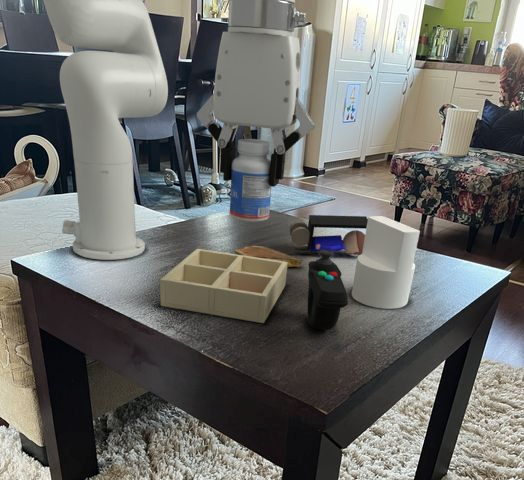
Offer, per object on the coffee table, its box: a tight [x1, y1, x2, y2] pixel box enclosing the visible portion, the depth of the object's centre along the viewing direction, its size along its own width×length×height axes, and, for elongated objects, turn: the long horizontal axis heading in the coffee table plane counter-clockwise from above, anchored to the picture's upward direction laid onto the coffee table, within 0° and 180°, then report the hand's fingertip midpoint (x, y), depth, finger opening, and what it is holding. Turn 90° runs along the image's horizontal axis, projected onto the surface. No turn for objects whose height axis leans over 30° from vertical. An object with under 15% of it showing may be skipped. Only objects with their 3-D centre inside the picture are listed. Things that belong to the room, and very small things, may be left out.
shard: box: [234, 245, 303, 268], centre depth 96 cm, size 11×8×2 cm
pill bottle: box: [229, 138, 272, 223], centre depth 70 cm, size 6×5×10 cm
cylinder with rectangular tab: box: [351, 215, 421, 310], centre depth 83 cm, size 9×9×12 cm
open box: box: [159, 248, 288, 324], centre depth 81 cm, size 15×15×4 cm
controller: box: [307, 250, 349, 331], centre depth 72 cm, size 4×12×10 cm, turn 3°
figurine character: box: [289, 214, 368, 257], centre depth 103 cm, size 7×8×15 cm
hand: (251, 180), depth 70 cm, fingers closed on pill bottle, 5 cm apart
